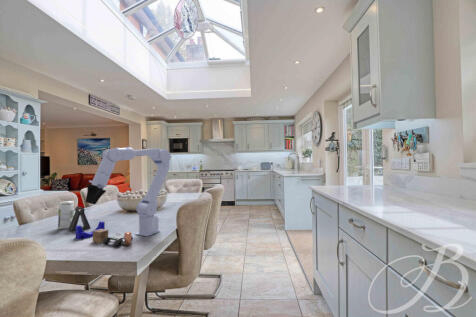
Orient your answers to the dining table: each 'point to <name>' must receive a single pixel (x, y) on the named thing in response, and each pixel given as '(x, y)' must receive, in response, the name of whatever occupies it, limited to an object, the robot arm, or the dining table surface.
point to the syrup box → (65, 214)
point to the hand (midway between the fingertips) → (90, 203)
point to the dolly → (117, 240)
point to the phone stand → (76, 218)
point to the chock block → (99, 235)
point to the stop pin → (127, 239)
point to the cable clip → (82, 235)
